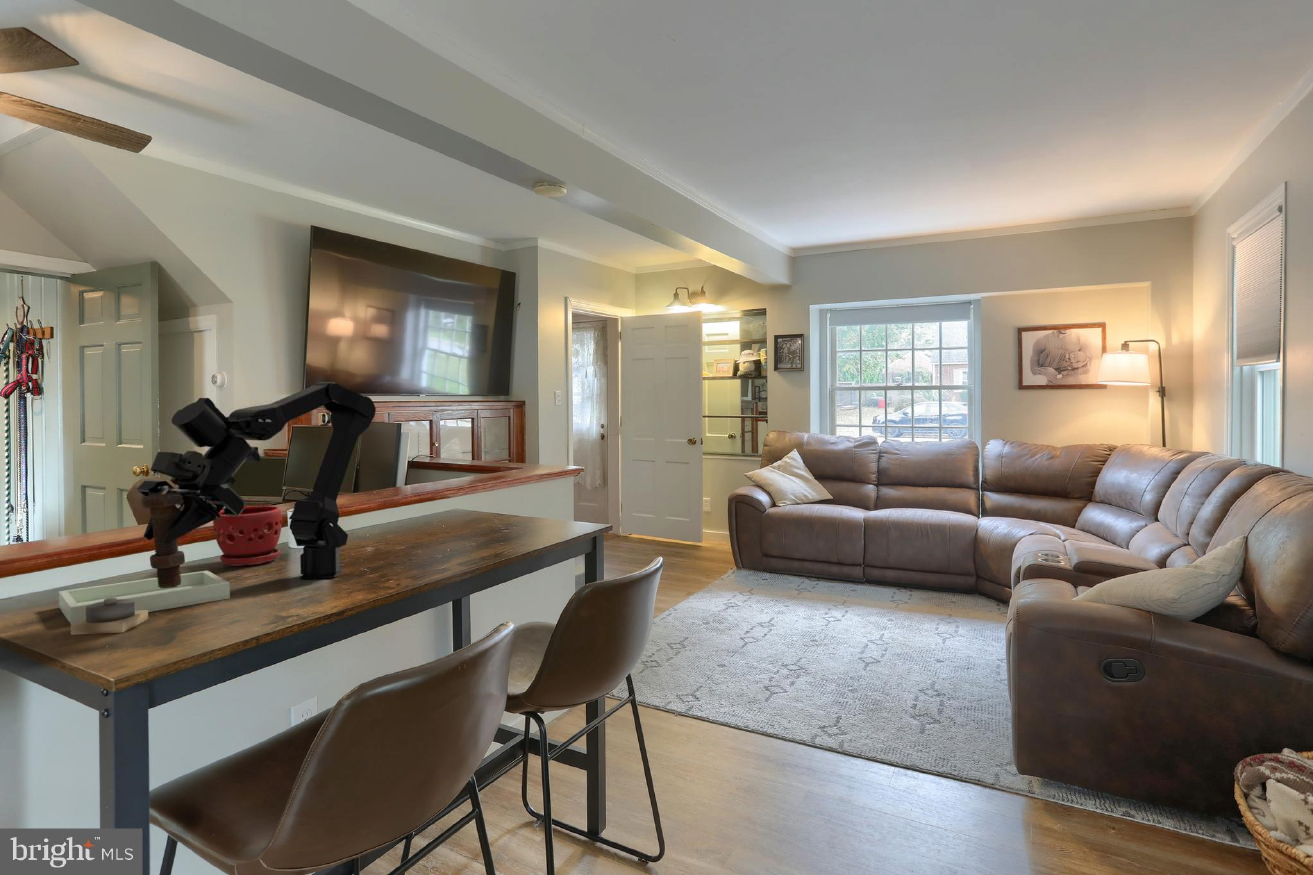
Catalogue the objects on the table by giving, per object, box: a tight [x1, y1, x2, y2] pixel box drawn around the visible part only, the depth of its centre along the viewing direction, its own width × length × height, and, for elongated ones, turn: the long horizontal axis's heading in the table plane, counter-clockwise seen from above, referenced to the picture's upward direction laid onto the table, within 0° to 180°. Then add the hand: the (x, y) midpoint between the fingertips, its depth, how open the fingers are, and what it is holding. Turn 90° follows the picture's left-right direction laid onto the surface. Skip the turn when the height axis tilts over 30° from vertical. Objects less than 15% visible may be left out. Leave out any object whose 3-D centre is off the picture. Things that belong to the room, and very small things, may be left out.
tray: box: [58, 570, 231, 626], centre depth 122 cm, size 22×14×3 cm, turn 137°
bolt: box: [141, 493, 186, 588], centre depth 112 cm, size 6×5×15 cm
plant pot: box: [212, 505, 283, 567], centre depth 155 cm, size 13×13×12 cm
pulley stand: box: [70, 598, 149, 636], centre depth 108 cm, size 7×7×4 cm
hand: (156, 539), depth 111 cm, fingers closed on bolt, 4 cm apart
